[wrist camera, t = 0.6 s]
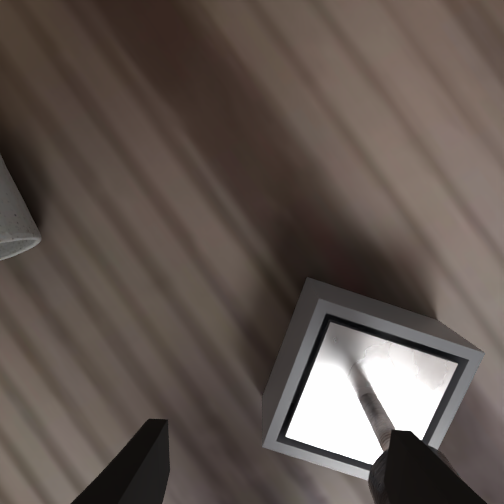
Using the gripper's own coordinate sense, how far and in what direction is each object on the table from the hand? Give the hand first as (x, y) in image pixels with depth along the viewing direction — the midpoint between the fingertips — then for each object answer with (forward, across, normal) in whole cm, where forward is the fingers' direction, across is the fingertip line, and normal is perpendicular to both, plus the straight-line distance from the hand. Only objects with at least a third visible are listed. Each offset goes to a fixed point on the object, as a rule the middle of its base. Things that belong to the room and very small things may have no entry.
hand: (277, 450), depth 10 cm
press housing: (+11, -5, +3) cm, 13 cm away
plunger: (+7, -5, +3) cm, 9 cm away
